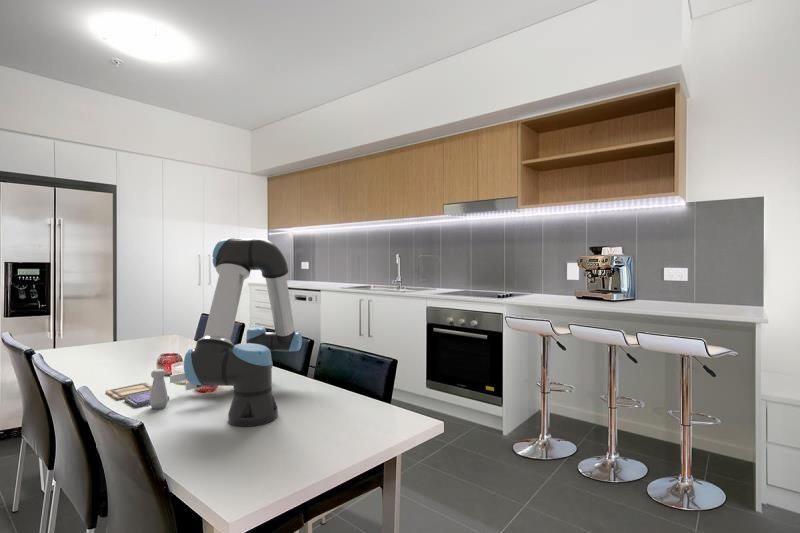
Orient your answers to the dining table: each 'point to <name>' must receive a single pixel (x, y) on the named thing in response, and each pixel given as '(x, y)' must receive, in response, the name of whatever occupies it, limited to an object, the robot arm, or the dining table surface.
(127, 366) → the dining table surface
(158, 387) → the salt shaker
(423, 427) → the dining table surface
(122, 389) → the marked board
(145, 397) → the ink pad
